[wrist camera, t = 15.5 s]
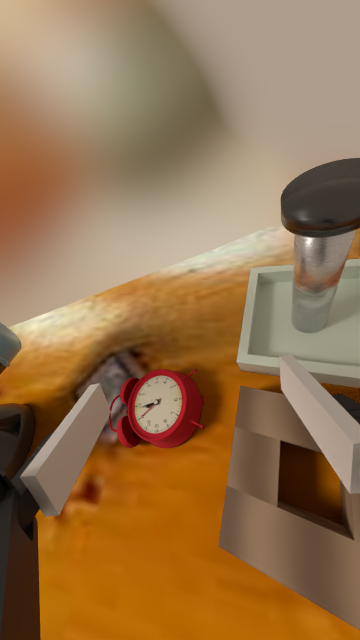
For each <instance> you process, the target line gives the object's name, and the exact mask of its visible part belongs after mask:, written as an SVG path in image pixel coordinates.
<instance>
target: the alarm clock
mask: <svg viewBox="0 0 360 640" xmlns="http://www.w3.org/2000/svg"><path fill="white" fill-rule="evenodd" d="M194 372H197V369H194V371H193V372H192V373H191V374H189V375H188V376H186V375H184V374H182V373H180V372H174V371H171V370H166V369H159V370H154V371H151V372H149V373H147V374H146V375H145V376H143V377H142V378H141V379H140V380H139V379H137V378H129V379H127V380H126V381H125V382H124V384H123V385H122V388H121V391H120V395H118V396H117V397H116V398H115V399H114V400H113V401H112V404H111V407H110V411H111V409H112V406H113V403H114V401H115V400H116V399H117V398H118V397H120V398H121V401H122V402H123V403H124V404H125V405H128V409H127V410H126V413H128V416H124V417H123V418H121V419H120V420H119V422H118V424H117V430H115V429H113V428H112V426H111V421H110V417H111V413H110V415H109V426H110V428H111V430H112V431H115V432H117V434H118V438H119V440H120V442H121V443H122V444H123V445H124V446H125V447H127V448H133V447H135V446H137V445H138V444H139V442H140V438H139V439H137V440H136V439H135V437H134V435H133V430H134V431H135V433H136V434H137V435H138V436H139V437H141V438H142V439H144V440H146V441H148V442H150V443H151V444H153V445H154V446H157V447H160V448H172V447H176V446H178V445H180V444H182V443H184V442H185V441H186V440H187V439H188V438H189V437H190V436H191V435H192V434H193V432H194V431H195V429H196V427H197V425H198V426H200V427H201V429H203V428H204V425H200V424H198V423H199V420H200V416H201V404H204V400H203V397H200V394H199V391H198V388H197V387H196V385H195V383H194V382H193V381H192V380H191V379H190V378H189V377H190V376H191V375H192V374H193V373H194Z"/></svg>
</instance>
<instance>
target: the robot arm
mask: <svg viewBox="0 0 360 640" xmlns="http://www.w3.org/2000/svg"><path fill="white" fill-rule="evenodd" d="M20 349H21V341H20V339H19V338H18V337H17V336H16V335H15V334H14V333H13V332H12V331H11V330H10V329H8V328H7V327H6V326H4V325H3V324H1V323H0V374H1V373H2V372H3V371H4V370H5V368H6V367H9V365H10V362H11V361H12V360H13V358H14V357H15V356H16V355H17V353H18V352H19V351H20ZM279 363H280V378H281V390H282V391H283V393H284V394H285V396H286V397H287V399H288V400H289V402H290V403H291V405H292V407H293V408H294V410H295V411H296V413H297V414H298V416H299V417H300V419H301V420H302V422H303V423H304V425H305V426H306V428H307V429H308V431H309V432H310V434H311V435H312V437H313V439H314V440H315V442H316V443H317V445H318V446H319V448H320V449H321V451H322V452H323V454H324V455H325V457H326V458H327V460H328V461H329V463H330V464H331V466H332V467H333V469H334V471H335V472H336V474H337V475H338V477H339V478H340V480H341V481H342V483H343V484H344V486H345V487H346V489H347V490H348V492H349V493H350V494H357V493H360V405H359V404H357V403H356V402H355V401H354V400H353V399H351V398H349V397H347V396H345V395H343V394H337V395H330V394H329V393H328V392H327V391H326V390H325V389H324V388H323V387H322V386H321V385H320V383H319V382H318V381H317V380H316V379H315V378H314V377H313V376H312V375H311V374H310V373H309V372H308V371H307V370H306V369H305V368H304V367H303V366H302V365H301V364H300V363H299V362H298V361H297V360H296V359H295V358H294V357H293V356H292V355H291V354H288V355H281V356H279ZM110 413H111V411H110V408H109V406H108V403H107V401H106V398H105V395H104V393H103V390H102V388H101V385H100V383H98V384H92V385H90V386H89V387H88V388H87V390H86V391H85V392H84V394H83V395H82V396H81V398H80V399H79V400H78V401H77V403H76V404H75V405H74V407H73V408H72V409H71V411H70V412H69V413H68V415H67V416H66V417H65V418H64V420H63V421H62V422H61V424H60V425H59V426H58V428H57V429H56V430H55V431H52V432H51V433H50V434H49V435H48V436H47V437H45V438H44V439H43V441H42V442H41V443H40V444H39V446H38V447H37V449H35V451H34V452H33V453H32V456H30V457H29V458H28V460H27V461H26V462H25V463H24V465H23V466H22V467H21V465H22V463H23V462H24V460H25V458H26V455H27V453H28V451H29V448H30V445H31V442H32V439H33V434H34V428H35V418H34V414H33V411H32V409H31V408H30V407H29V406H27V405H22V404H16V403H9V404H2V405H0V640H40V604H39V564H38V525H37V519H36V517H35V516H36V514H37V512H38V510H39V509H41V511H42V512H43V514H44V516H54V515H59V514H60V512H61V510H62V508H63V506H64V504H65V502H66V500H67V498H68V496H69V494H70V492H71V490H72V488H73V487H74V485H75V483H76V481H77V479H78V477H79V475H80V473H81V471H82V469H83V467H84V465H85V463H86V461H87V459H88V457H89V455H90V453H91V451H92V449H93V447H94V445H95V443H96V441H97V439H98V437H99V435H100V433H101V431H102V429H103V427H104V425H105V423H106V421H107V419H108V417H109V415H110ZM20 467H21V468H20ZM19 469H20V470H19ZM18 470H19V471H18Z"/></svg>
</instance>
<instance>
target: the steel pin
mask: <svg viewBox="0 0 360 640" xmlns="http://www.w3.org/2000/svg"><path fill="white" fill-rule="evenodd" d="M281 221H282V224H283V226H284V227H285V228H286V229H287V230H288V231H290V232H292V233H294V234H295V242H294V265H293V289H292V313H291V322H292V325H293V326H294V328H295V329H297V330H298V331H300V332H303V333H316V332H319V331H320V330H322V329H323V328H324V327H325V325H326V322H327V319H328V315H329V312H330V309H331V306H332V303H333V300H334V297H335V294H336V291H337V287H338V284H339V281H340V278H341V275H342V272H343V269H344V266H345V263H346V259H347V256H348V253H349V250H350V247H351V244H352V241H353V238H354V235H355V231H356V229H358V228H360V158H351V159H343V160H338V161H333V162H329V163H326V164H323V165H320V166H317V167H315V168H313V169H310V170H308V171H306V172H304V173H303V174H302V175H299V176H298V177H297V178H295V179H294V180H293V181H291V183H289V184H288V185H287V187H286V188H285V189H284V191H283V193H282V195H281Z"/></svg>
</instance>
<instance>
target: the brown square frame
mask: <svg viewBox="0 0 360 640" xmlns="http://www.w3.org/2000/svg"><path fill="white" fill-rule="evenodd" d="M281 442H284V443H288V444H291V445H295V446H298V447H302V448H305V449H308V450H312V451H315V452H319V453H322V454H323V452H322V451H321V449H320V448H319V446H318V445H317V443H316V442H315V440H314V439H313V437H312V435H311V434H310V432H309V431H308V429H307V428H306V426H305V425H304V423H303V422H302V420H301V419H300V417H299V416H298V414H297V413H296V411H295V410H294V408H293V407H292V405H291V403H290V402H289V400H288V399H287V397H286V396H285V394H280V393H275V392H270V391H264V390H259V389H254V388H248V387H243V386H240V393H239V401H238V408H237V415H236V422H235V430H234V437H233V444H232V451H231V459H230V466H229V473H228V480H227V487H226V495H225V502H224V509H223V516H222V524H221V531H220V538H219V545H218V546H219V547H221V548H222V549H224V550H226V551H227V552H229V553H231V554H232V555H234V556H236V557H237V558H239V559H241V560H242V561H244V562H246V563H248V564H249V565H251V566H253V567H254V568H256V569H258V570H259V571H261V572H263V573H264V574H266V575H268V576H269V577H271V578H273V579H274V580H276V581H278V582H280V583H281V584H283V585H285V586H286V587H288V588H290V589H291V590H293V591H295V592H296V593H298V594H300V595H301V596H303V597H305V598H306V599H308V600H310V601H311V602H313V603H315V604H317V605H318V606H320V607H322V608H323V609H325V610H327V611H328V612H330V613H332V614H333V615H335V616H337V617H338V618H340V619H342V620H343V621H345V622H347V623H349V624H350V625H352V626H354V627H355V628H357V629H359V630H360V493H357V494H350V493H349V492H348V490H347V489H346V487H345V486H344V484H343V483H342V481H341V480H340V489H341V505H342V522H343V525H340V524H338V523H335V522H333V521H331V520H328V519H326V518H323V517H321V516H318V515H316V514H314V513H311V512H309V511H306V510H304V509H302V508H299V507H297V506H294V505H292V504H290V503H287V502H285V501H282V500H280V499H278V491H279V470H280V449H281Z"/></svg>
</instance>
